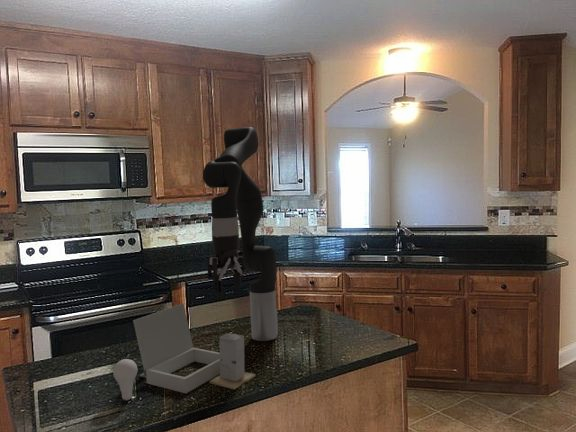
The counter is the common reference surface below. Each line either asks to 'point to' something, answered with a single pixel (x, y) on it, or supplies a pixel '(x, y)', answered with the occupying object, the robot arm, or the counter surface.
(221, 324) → the counter surface
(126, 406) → the counter surface
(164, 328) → the lid
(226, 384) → the mat
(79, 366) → the counter surface
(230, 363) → the skincare box
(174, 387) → the case
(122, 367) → the lightbulb
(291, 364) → the counter surface
